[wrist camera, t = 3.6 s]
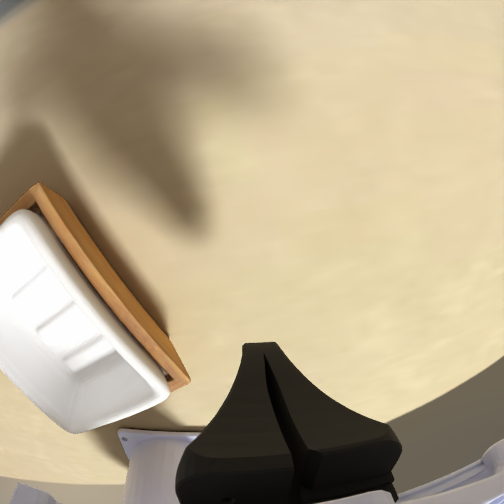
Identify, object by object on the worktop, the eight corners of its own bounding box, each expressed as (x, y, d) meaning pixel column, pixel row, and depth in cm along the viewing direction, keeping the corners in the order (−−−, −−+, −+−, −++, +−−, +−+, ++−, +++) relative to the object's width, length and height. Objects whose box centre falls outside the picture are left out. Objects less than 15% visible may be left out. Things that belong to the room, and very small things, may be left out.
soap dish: (-18, 261, 16) (-63, 292, 11) (70, 170, 15) (20, 183, 10) (91, 396, 20) (72, 446, 15) (195, 344, 19) (191, 402, 14)
